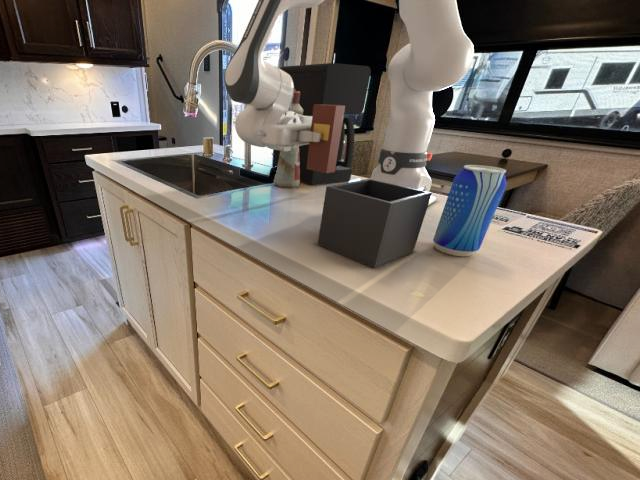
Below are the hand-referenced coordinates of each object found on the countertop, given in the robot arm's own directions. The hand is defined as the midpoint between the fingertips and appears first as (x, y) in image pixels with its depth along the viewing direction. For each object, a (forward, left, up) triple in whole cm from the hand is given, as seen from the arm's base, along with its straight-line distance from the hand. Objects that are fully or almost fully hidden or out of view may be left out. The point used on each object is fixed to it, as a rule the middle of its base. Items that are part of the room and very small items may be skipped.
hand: (328, 137), depth 73 cm
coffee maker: (-39, -36, -19) cm, 56 cm away
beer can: (-11, +28, -19) cm, 36 cm away
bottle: (-21, -32, -19) cm, 43 cm away
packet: (0, -1, -7) cm, 7 cm away
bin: (+4, +17, -19) cm, 26 cm away
